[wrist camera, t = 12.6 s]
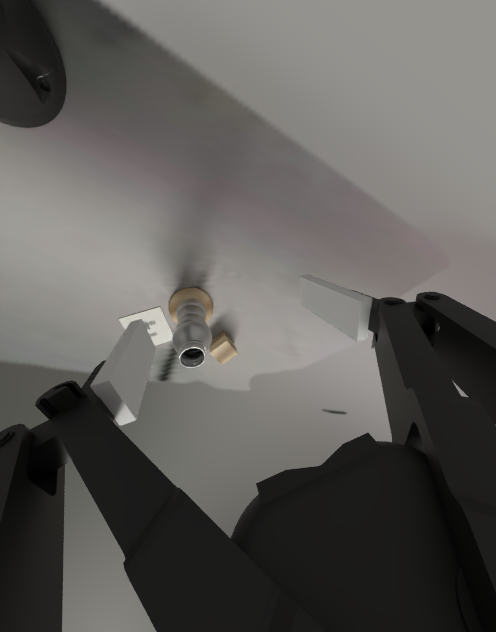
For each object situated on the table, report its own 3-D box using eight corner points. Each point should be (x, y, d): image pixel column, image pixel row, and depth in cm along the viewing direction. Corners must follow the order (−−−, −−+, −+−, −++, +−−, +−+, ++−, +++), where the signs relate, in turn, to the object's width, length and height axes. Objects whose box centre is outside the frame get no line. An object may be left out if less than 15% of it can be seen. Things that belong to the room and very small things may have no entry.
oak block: (208, 342, 50) (209, 352, 46) (223, 331, 50) (226, 340, 46) (219, 354, 53) (222, 365, 48) (234, 343, 53) (238, 353, 48)
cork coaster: (162, 294, 43) (161, 295, 42) (205, 282, 44) (205, 282, 44) (178, 332, 47) (178, 333, 46) (217, 319, 49) (218, 320, 48)
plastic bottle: (171, 302, 43) (158, 350, 26) (199, 291, 44) (206, 330, 26) (183, 325, 46) (179, 383, 28) (210, 315, 47) (222, 364, 29)
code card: (118, 318, 42) (118, 319, 42) (160, 306, 44) (160, 306, 43) (137, 351, 46) (137, 351, 46) (175, 339, 47) (174, 339, 47)
